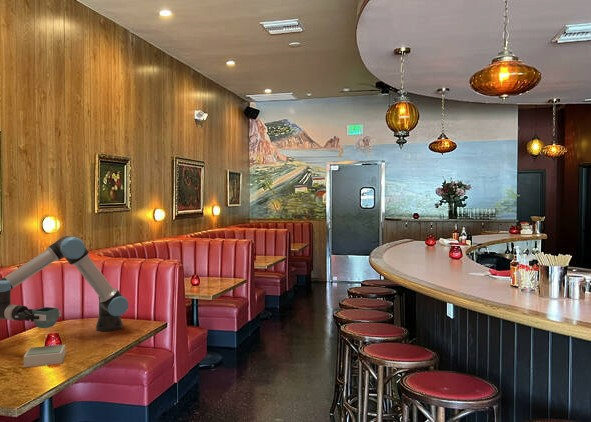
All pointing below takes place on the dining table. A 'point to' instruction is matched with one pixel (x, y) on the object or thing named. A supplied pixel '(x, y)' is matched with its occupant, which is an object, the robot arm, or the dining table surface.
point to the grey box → (44, 355)
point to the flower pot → (50, 317)
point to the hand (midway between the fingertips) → (53, 315)
